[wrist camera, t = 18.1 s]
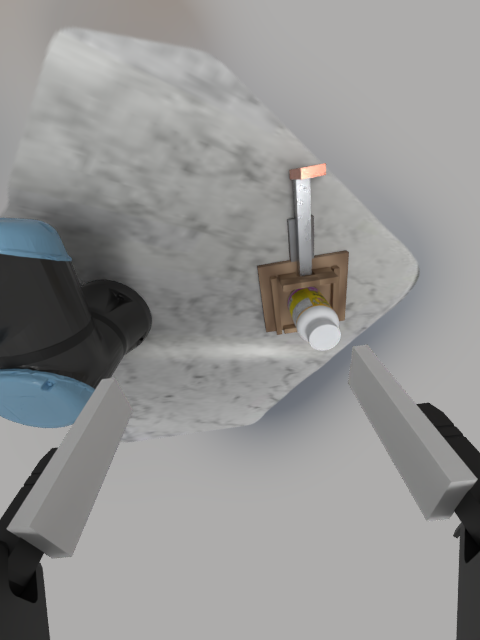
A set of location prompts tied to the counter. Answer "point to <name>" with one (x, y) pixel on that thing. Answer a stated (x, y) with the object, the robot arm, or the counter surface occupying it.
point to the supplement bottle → (314, 318)
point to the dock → (301, 283)
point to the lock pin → (304, 213)
